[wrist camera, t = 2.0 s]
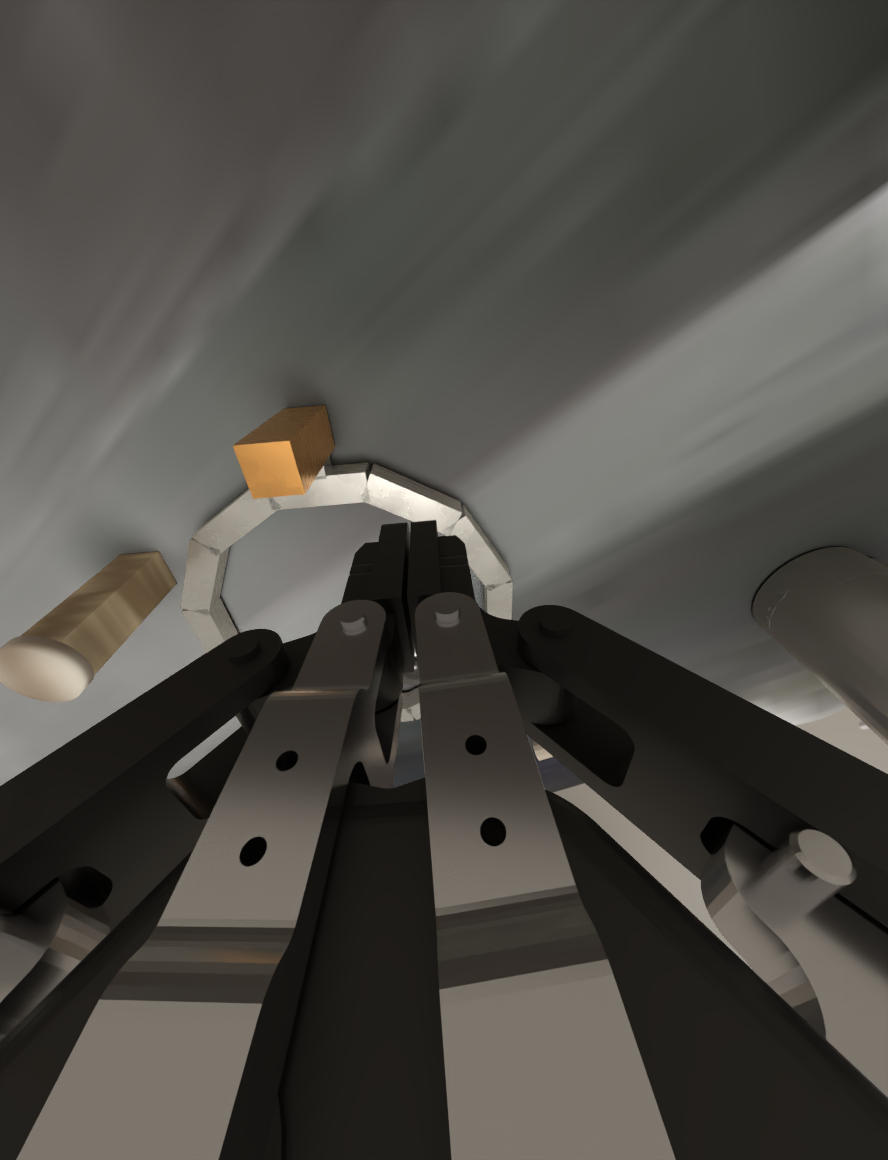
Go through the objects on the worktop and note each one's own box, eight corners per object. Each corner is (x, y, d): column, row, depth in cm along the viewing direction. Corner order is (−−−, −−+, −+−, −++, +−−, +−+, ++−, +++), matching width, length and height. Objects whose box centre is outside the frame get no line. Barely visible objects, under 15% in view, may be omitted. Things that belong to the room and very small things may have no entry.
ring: (512, 388, 24) (545, 417, 18) (505, 696, 41) (520, 769, 35) (98, 425, 24) (-21, 468, 18) (261, 717, 42) (231, 793, 35)
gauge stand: (163, 542, 30) (49, 645, 21) (189, 589, 32) (98, 698, 23) (106, 547, 30) (-33, 652, 21) (136, 593, 32) (25, 704, 23)
